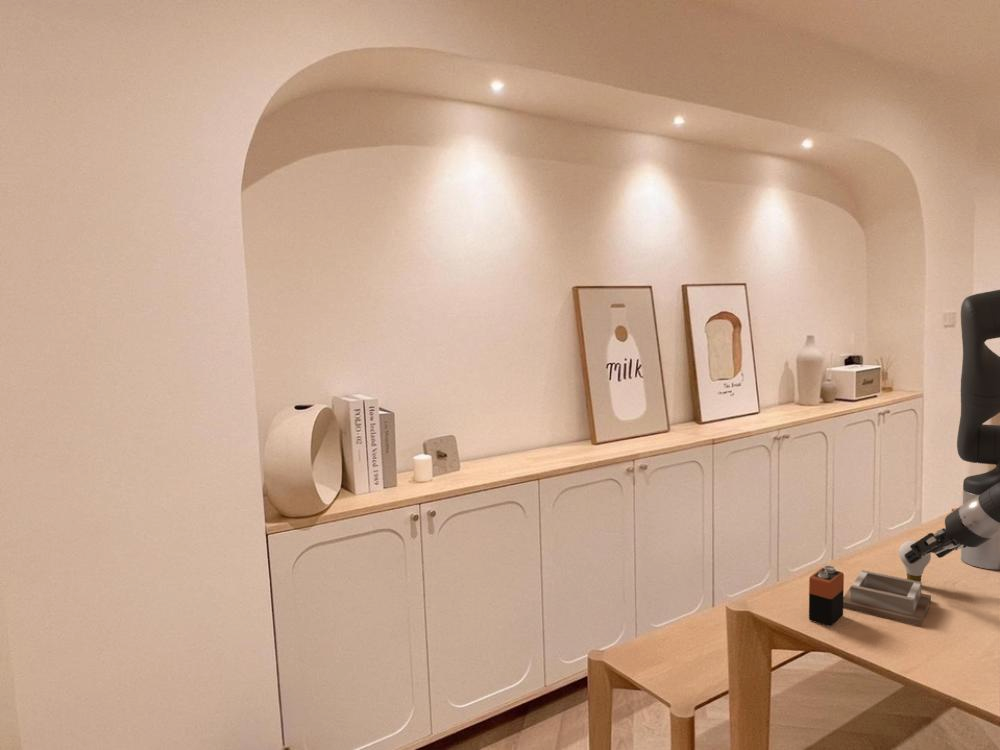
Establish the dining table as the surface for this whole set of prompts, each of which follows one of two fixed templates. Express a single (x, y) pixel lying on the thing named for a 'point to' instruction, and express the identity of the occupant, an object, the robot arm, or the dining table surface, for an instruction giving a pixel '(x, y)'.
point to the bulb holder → (888, 597)
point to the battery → (826, 595)
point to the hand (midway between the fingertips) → (922, 556)
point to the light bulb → (916, 568)
